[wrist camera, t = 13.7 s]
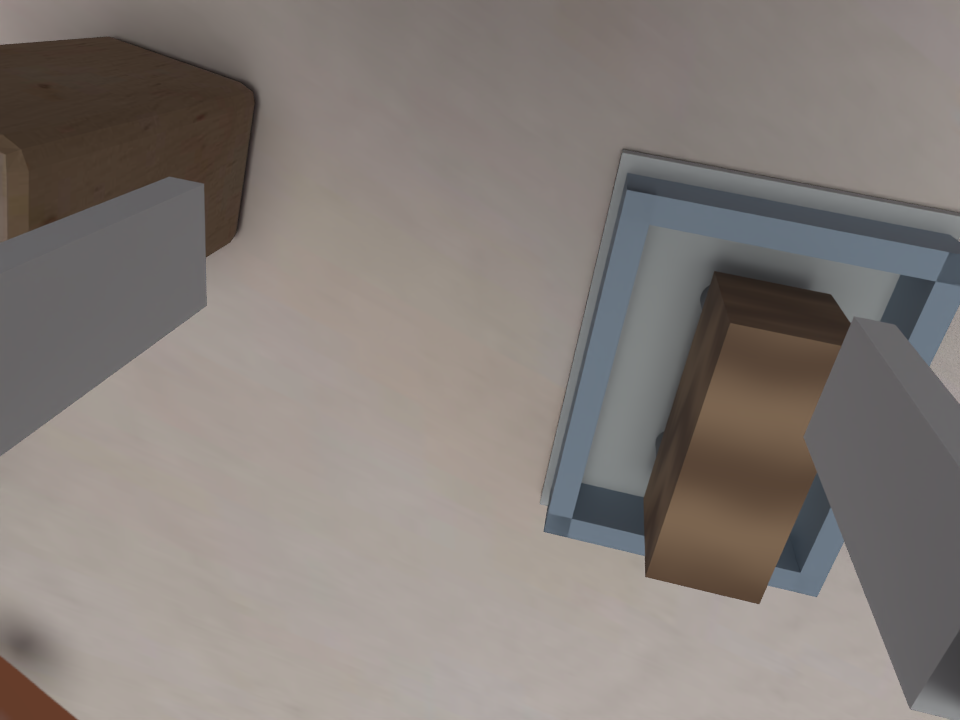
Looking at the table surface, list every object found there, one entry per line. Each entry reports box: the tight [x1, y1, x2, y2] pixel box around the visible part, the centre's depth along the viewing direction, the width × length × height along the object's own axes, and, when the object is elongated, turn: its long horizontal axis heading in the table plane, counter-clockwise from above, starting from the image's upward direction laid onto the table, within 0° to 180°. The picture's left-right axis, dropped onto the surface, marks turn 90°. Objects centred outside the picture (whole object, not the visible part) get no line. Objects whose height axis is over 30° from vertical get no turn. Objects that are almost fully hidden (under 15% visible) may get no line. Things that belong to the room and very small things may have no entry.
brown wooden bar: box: [643, 271, 851, 604], centre depth 39 cm, size 15×6×7 cm, turn 172°
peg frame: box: [540, 149, 960, 597], centre depth 43 cm, size 24×18×5 cm
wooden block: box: [0, 37, 255, 257], centre depth 37 cm, size 10×10×20 cm
